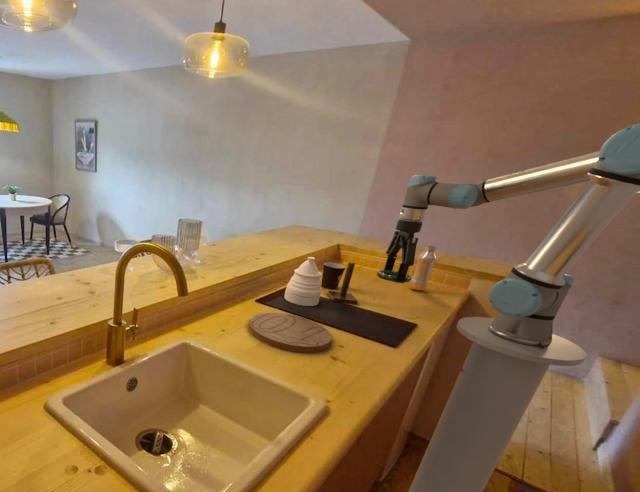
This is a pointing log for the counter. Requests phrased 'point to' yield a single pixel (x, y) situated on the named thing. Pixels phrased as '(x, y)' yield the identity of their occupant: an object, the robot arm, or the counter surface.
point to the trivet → (289, 332)
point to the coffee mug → (332, 275)
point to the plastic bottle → (423, 269)
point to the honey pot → (304, 285)
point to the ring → (391, 275)
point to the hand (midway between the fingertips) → (392, 277)
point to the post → (344, 288)
